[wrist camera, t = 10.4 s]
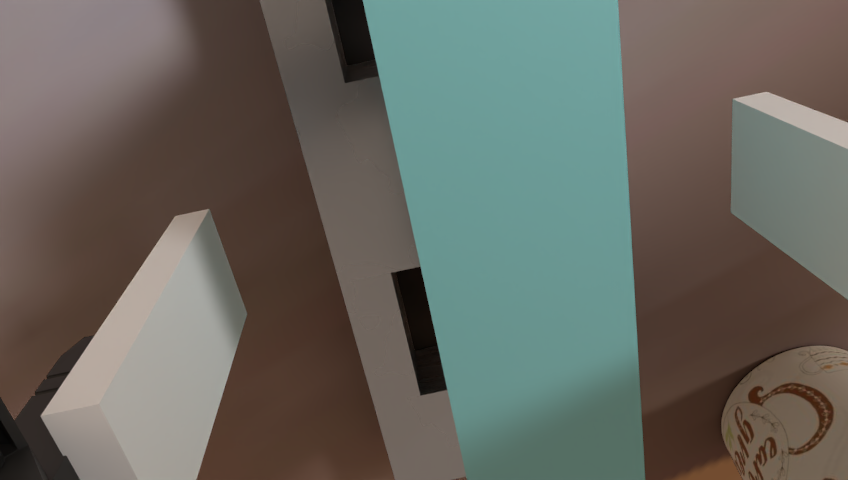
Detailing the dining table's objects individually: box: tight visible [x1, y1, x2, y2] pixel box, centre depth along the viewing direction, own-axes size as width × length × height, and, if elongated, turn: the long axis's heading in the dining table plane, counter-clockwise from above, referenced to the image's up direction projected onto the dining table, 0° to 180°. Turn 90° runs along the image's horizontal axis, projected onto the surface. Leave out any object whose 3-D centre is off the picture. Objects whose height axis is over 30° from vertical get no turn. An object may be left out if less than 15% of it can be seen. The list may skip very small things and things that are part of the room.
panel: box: [363, 0, 645, 480], centre depth 15 cm, size 12×3×11 cm, turn 11°
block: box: [260, 0, 466, 480], centre depth 19 cm, size 22×8×2 cm, turn 11°
